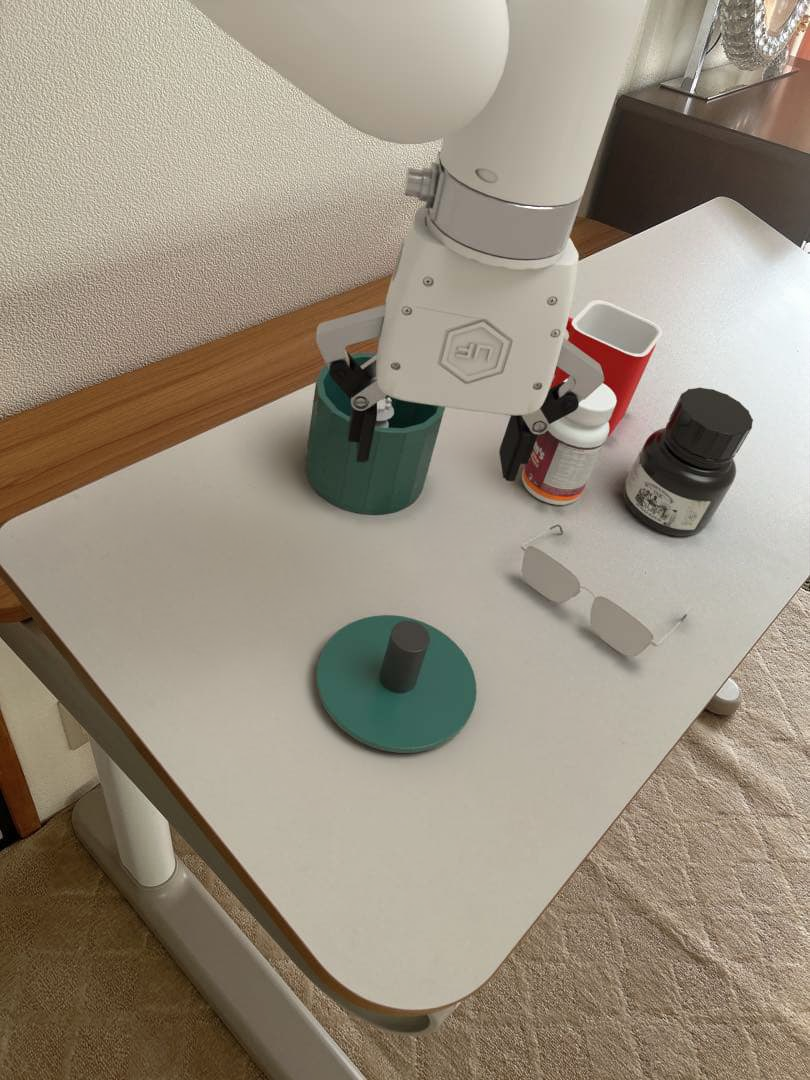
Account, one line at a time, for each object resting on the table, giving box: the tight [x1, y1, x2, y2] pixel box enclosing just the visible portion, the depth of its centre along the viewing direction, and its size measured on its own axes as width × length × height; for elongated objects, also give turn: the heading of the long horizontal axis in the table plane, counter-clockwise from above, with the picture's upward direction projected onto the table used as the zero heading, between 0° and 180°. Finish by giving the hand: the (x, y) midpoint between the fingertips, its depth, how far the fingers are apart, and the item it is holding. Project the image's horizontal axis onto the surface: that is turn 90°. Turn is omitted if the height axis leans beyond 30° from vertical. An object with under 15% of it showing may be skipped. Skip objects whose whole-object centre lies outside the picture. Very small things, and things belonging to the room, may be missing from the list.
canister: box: [304, 352, 446, 516], centre depth 80 cm, size 11×11×10 cm
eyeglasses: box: [520, 524, 688, 658], centre depth 76 cm, size 14×8×4 cm, turn 48°
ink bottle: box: [622, 387, 754, 537], centre depth 83 cm, size 10×9×12 cm
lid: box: [315, 614, 477, 754], centre depth 64 cm, size 12×12×6 cm
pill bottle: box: [521, 378, 617, 506], centre depth 83 cm, size 6×6×11 cm
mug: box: [550, 299, 664, 438], centre depth 94 cm, size 12×8×11 cm
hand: (434, 458), depth 58 cm, fingers open, 9 cm apart
